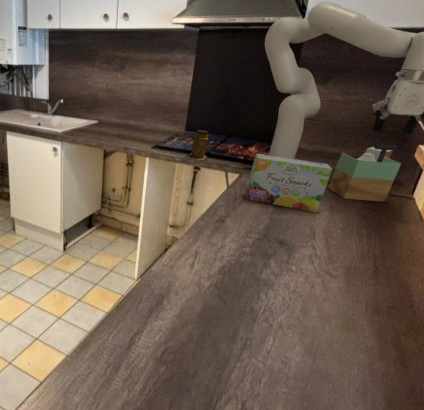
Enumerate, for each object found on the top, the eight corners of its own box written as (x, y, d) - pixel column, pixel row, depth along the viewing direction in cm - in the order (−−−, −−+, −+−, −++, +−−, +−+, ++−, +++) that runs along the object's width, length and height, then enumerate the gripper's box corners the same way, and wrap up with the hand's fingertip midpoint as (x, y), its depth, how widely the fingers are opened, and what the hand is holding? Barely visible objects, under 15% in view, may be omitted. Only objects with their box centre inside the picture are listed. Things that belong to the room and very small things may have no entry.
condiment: (206, 156, 166) (211, 131, 162) (202, 160, 160) (208, 134, 155) (190, 153, 170) (195, 128, 165) (186, 157, 163) (191, 131, 158)
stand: (328, 188, 135) (335, 168, 132) (366, 191, 135) (374, 171, 131) (343, 198, 126) (351, 177, 123) (384, 201, 126) (393, 180, 122)
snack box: (245, 200, 120) (256, 156, 113) (244, 194, 124) (255, 152, 118) (317, 213, 113) (333, 167, 107) (313, 206, 118) (329, 163, 111)
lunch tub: (335, 168, 132) (346, 136, 127) (374, 171, 131) (387, 139, 127) (352, 177, 122) (366, 144, 118) (395, 180, 122) (410, 147, 117)
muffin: (350, 167, 132) (357, 149, 129) (370, 170, 129) (378, 152, 126) (353, 172, 126) (361, 153, 124) (374, 175, 124) (382, 156, 121)
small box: (372, 183, 144) (385, 152, 138) (354, 178, 148) (366, 148, 143) (380, 180, 148) (393, 149, 142) (363, 175, 152) (374, 146, 147)
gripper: (394, 75, 106) (372, 132, 113) (454, 79, 105) (428, 136, 112) (376, 74, 113) (357, 128, 120) (433, 77, 112) (410, 131, 119)
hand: (391, 132), depth 116 cm, fingers open, 9 cm apart
